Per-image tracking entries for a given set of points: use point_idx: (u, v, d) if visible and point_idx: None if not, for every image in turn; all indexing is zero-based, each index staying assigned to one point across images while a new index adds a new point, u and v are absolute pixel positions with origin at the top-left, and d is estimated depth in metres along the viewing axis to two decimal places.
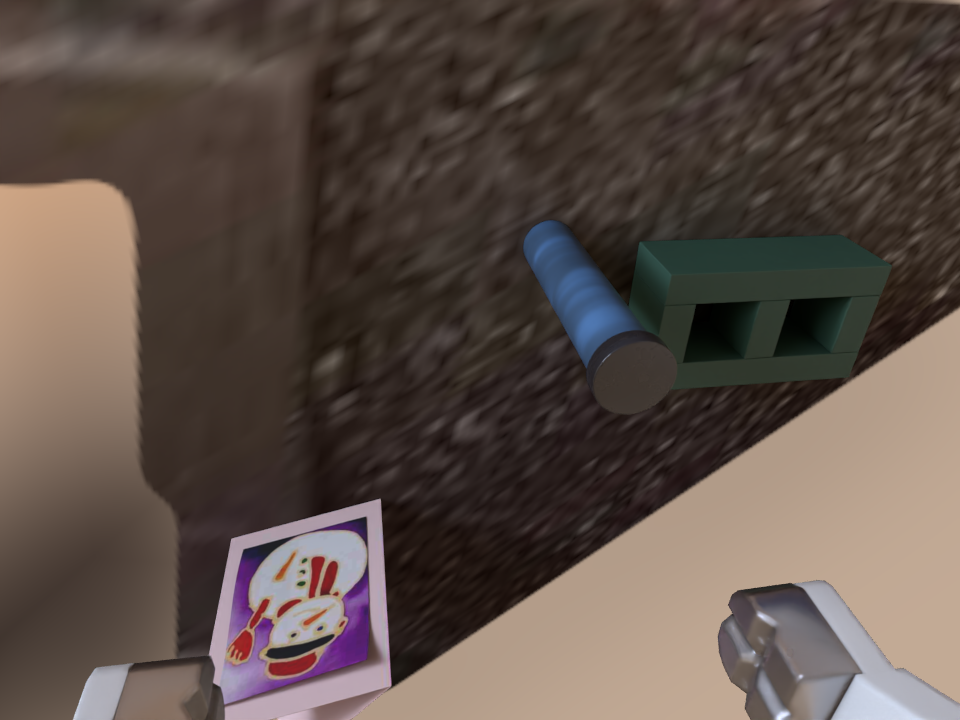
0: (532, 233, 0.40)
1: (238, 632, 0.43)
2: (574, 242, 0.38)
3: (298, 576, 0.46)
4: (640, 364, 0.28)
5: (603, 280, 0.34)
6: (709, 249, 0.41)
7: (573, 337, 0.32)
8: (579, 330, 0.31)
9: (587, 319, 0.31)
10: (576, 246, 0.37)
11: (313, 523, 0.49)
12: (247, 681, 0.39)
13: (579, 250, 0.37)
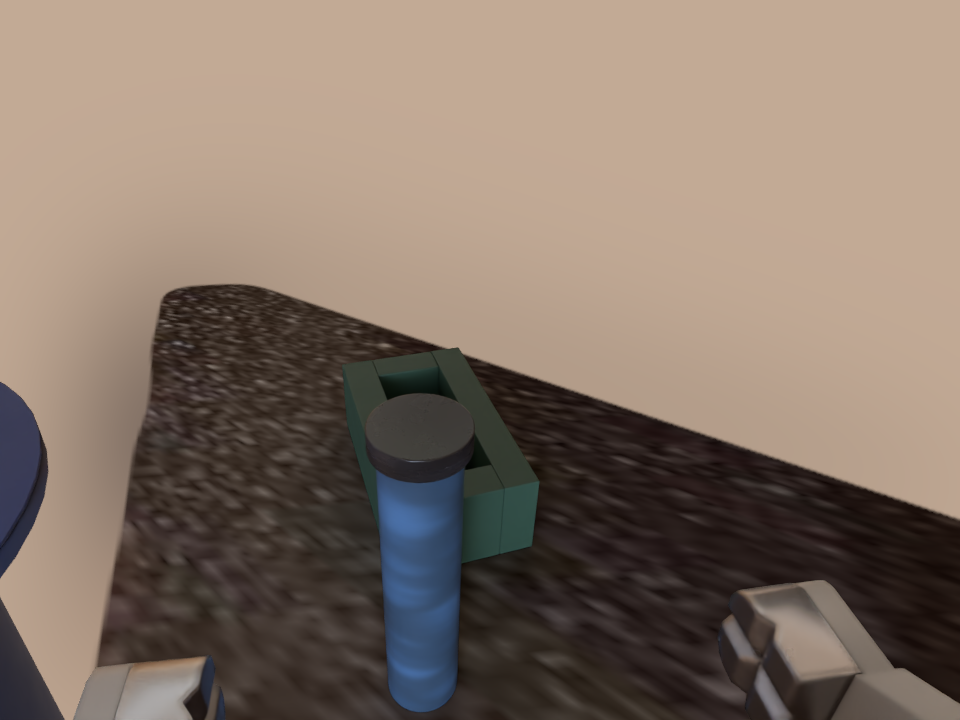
0: (408, 702, 0.30)
1: None
2: None
3: None
4: (397, 426, 0.23)
5: None
6: (376, 507, 0.38)
7: (436, 537, 0.24)
8: (417, 530, 0.24)
9: (400, 527, 0.24)
10: None
11: None
12: None
13: None
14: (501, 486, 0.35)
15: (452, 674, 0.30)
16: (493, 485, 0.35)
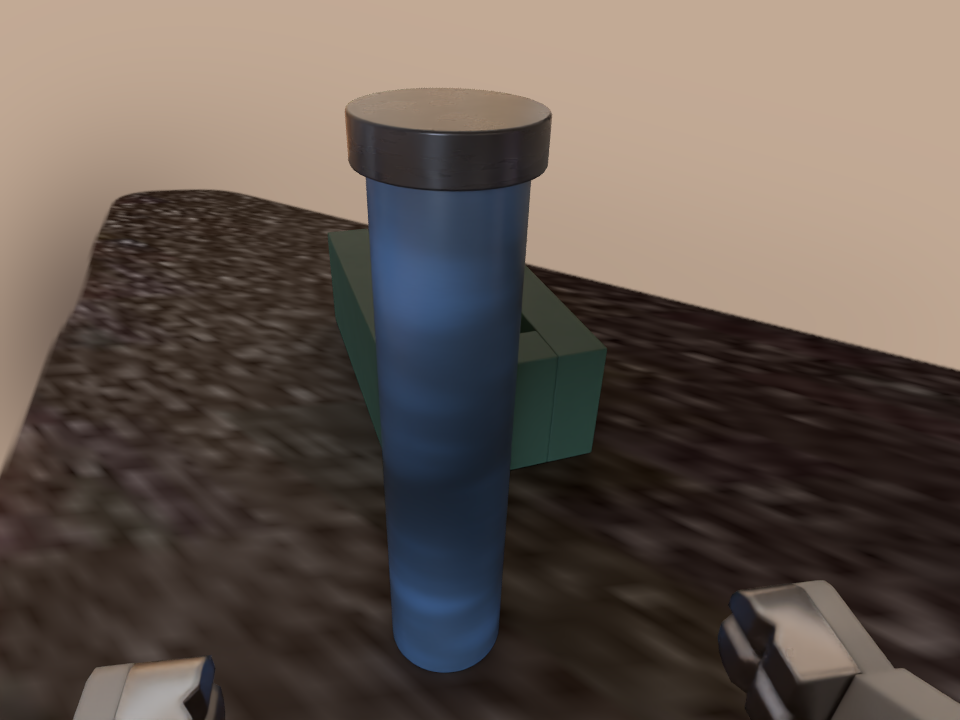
0: (424, 657, 0.19)
1: None
2: None
3: None
4: (406, 107, 0.12)
5: None
6: (373, 399, 0.27)
7: (478, 334, 0.13)
8: (445, 314, 0.13)
9: (412, 311, 0.13)
10: None
11: None
12: None
13: None
14: (553, 354, 0.24)
15: (494, 611, 0.19)
16: (542, 352, 0.24)
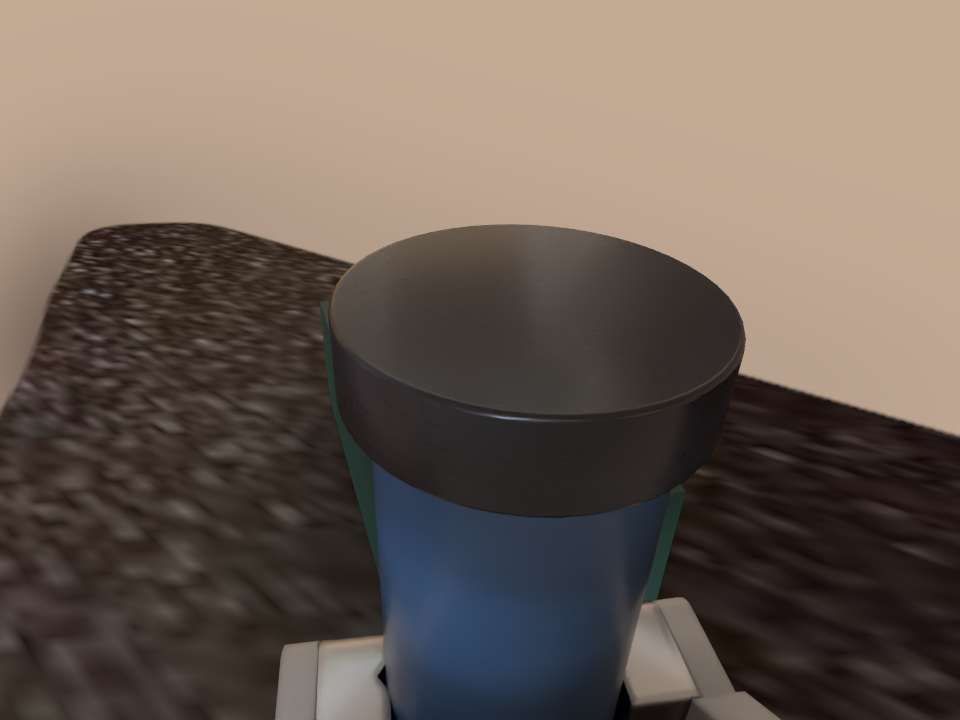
0: None
1: None
2: None
3: None
4: (451, 299, 0.06)
5: None
6: (375, 538, 0.21)
7: (575, 693, 0.07)
8: (519, 676, 0.07)
9: (457, 664, 0.07)
10: None
11: None
12: None
13: None
14: None
15: None
16: None
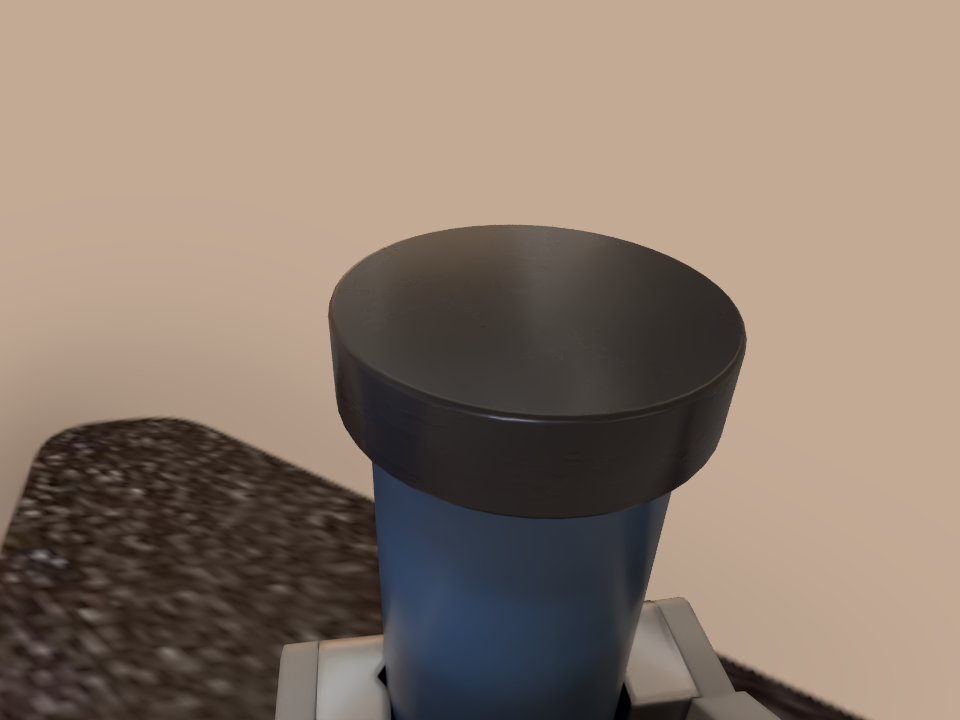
0: None
1: None
2: None
3: None
4: (451, 300, 0.06)
5: None
6: None
7: (575, 694, 0.07)
8: (519, 677, 0.07)
9: (456, 665, 0.07)
10: None
11: None
12: None
13: None
14: None
15: None
16: None
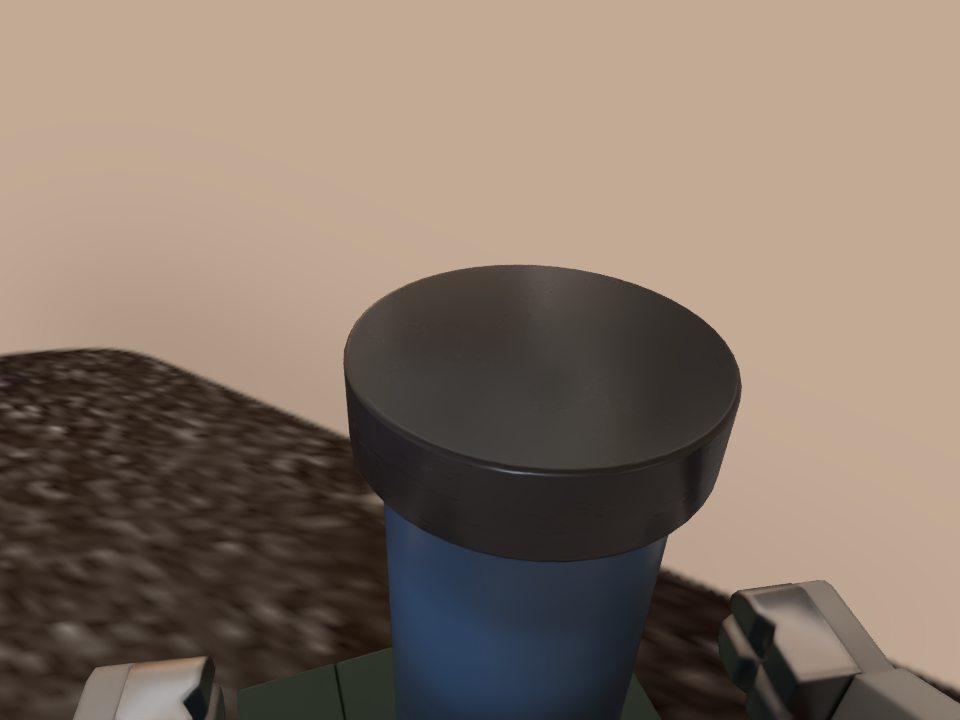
0: None
1: None
2: None
3: None
4: (461, 348, 0.06)
5: None
6: None
7: (579, 718, 0.07)
8: (526, 704, 0.07)
9: (465, 692, 0.07)
10: None
11: None
12: None
13: None
14: None
15: None
16: None
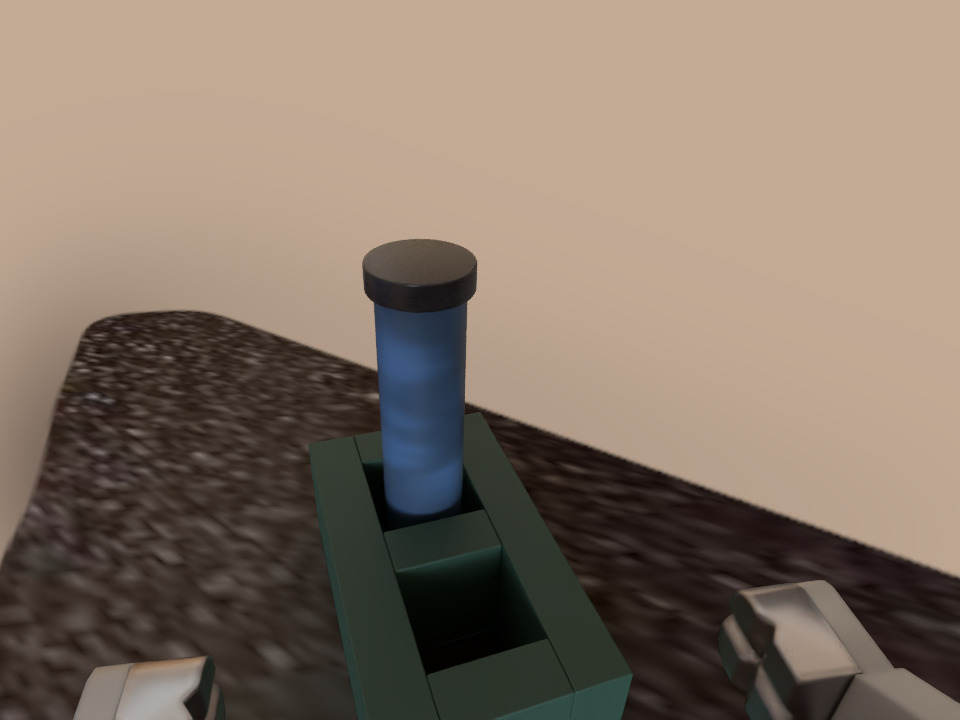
0: None
1: None
2: None
3: None
4: (396, 261, 0.22)
5: None
6: (356, 698, 0.23)
7: (437, 384, 0.23)
8: (418, 374, 0.23)
9: (400, 372, 0.23)
10: (385, 503, 0.28)
11: None
12: None
13: None
14: (569, 687, 0.20)
15: None
16: (555, 685, 0.20)
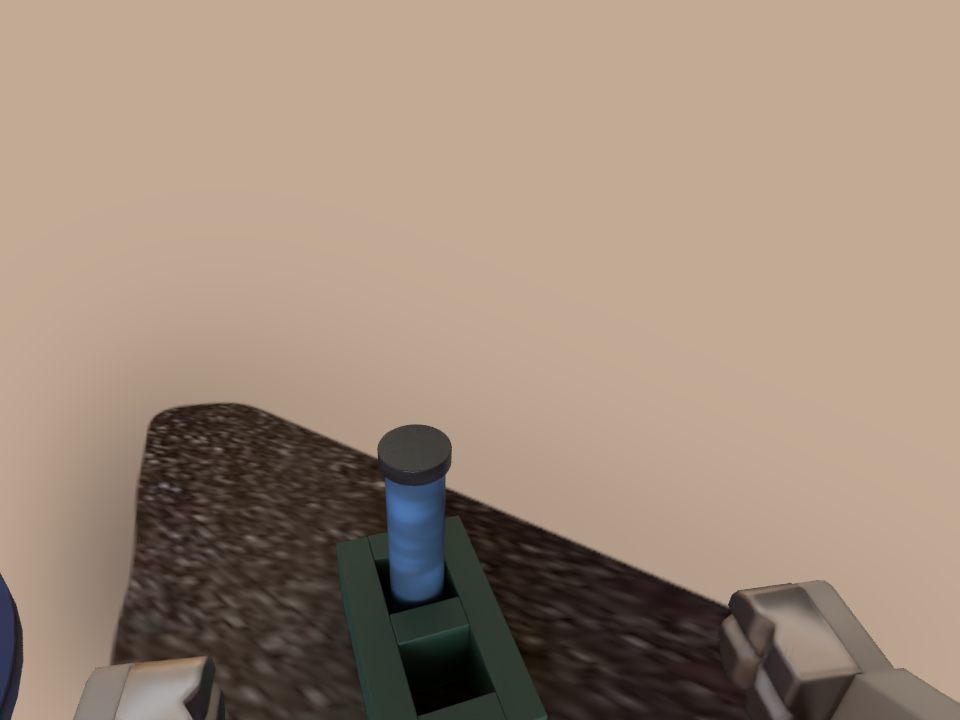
0: None
1: None
2: None
3: None
4: (399, 448, 0.34)
5: None
6: None
7: (425, 523, 0.35)
8: (413, 518, 0.35)
9: (401, 516, 0.35)
10: None
11: None
12: None
13: None
14: None
15: None
16: None
